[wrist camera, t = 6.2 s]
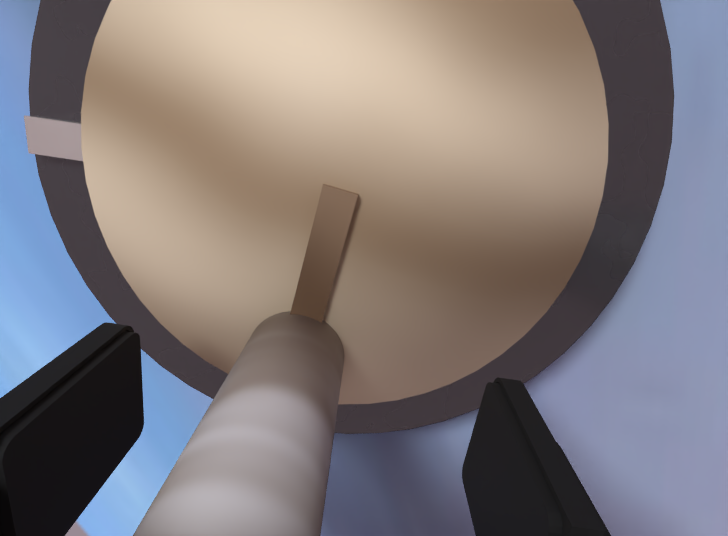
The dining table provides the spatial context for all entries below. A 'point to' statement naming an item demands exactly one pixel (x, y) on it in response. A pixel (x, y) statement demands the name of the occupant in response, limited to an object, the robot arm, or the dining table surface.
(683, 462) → the dining table surface
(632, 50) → the dial base
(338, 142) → the dial rotor
